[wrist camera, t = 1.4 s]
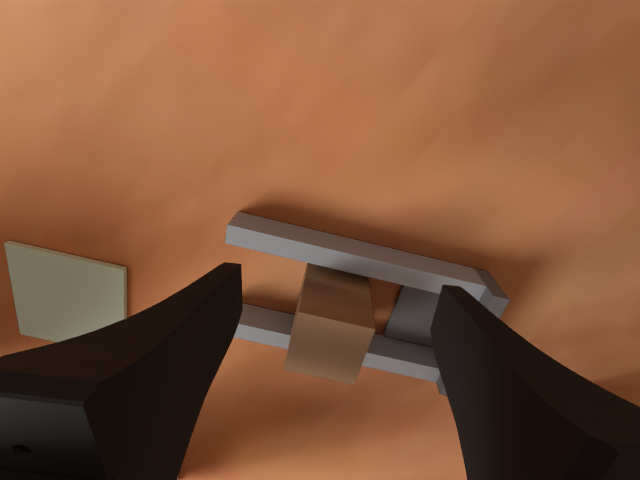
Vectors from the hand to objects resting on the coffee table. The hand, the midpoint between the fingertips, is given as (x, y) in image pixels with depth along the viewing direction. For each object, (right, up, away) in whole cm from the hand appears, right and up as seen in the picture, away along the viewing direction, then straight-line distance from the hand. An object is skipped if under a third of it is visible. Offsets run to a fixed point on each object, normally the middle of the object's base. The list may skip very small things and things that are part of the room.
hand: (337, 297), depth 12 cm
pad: (-19, -2, +13) cm, 23 cm away
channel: (+1, -2, +11) cm, 11 cm away
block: (0, -1, +11) cm, 11 cm away
